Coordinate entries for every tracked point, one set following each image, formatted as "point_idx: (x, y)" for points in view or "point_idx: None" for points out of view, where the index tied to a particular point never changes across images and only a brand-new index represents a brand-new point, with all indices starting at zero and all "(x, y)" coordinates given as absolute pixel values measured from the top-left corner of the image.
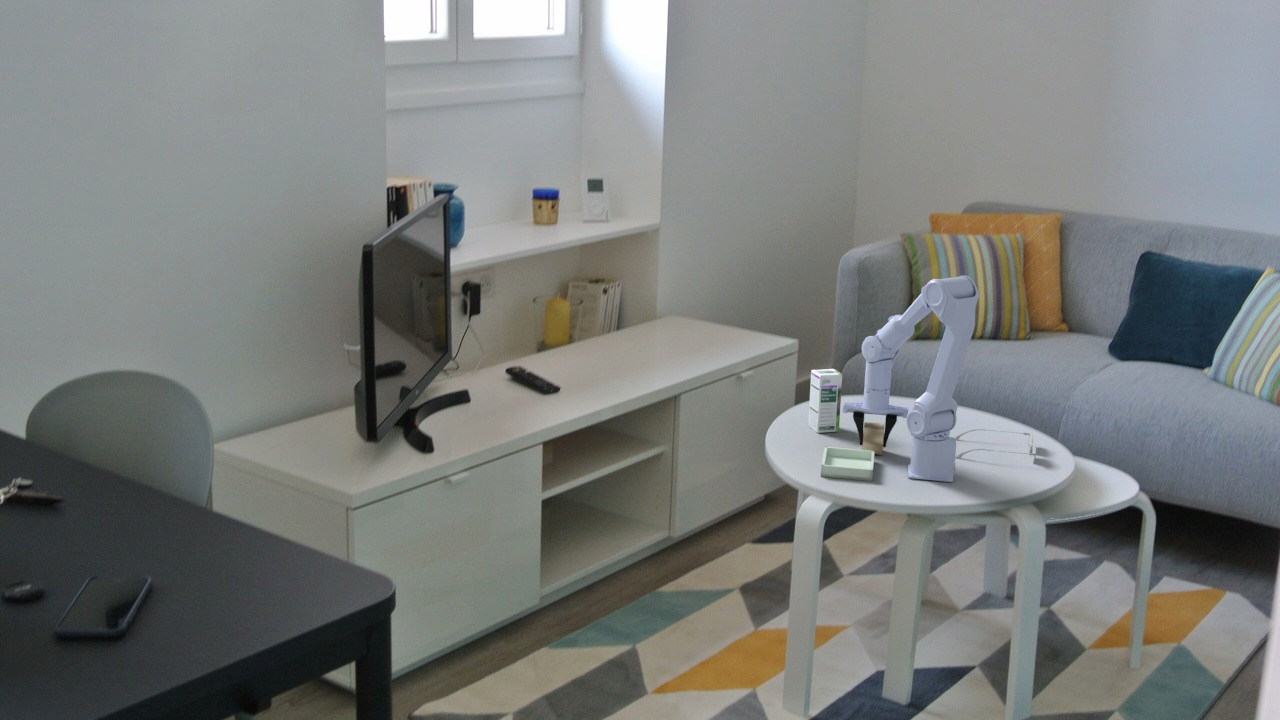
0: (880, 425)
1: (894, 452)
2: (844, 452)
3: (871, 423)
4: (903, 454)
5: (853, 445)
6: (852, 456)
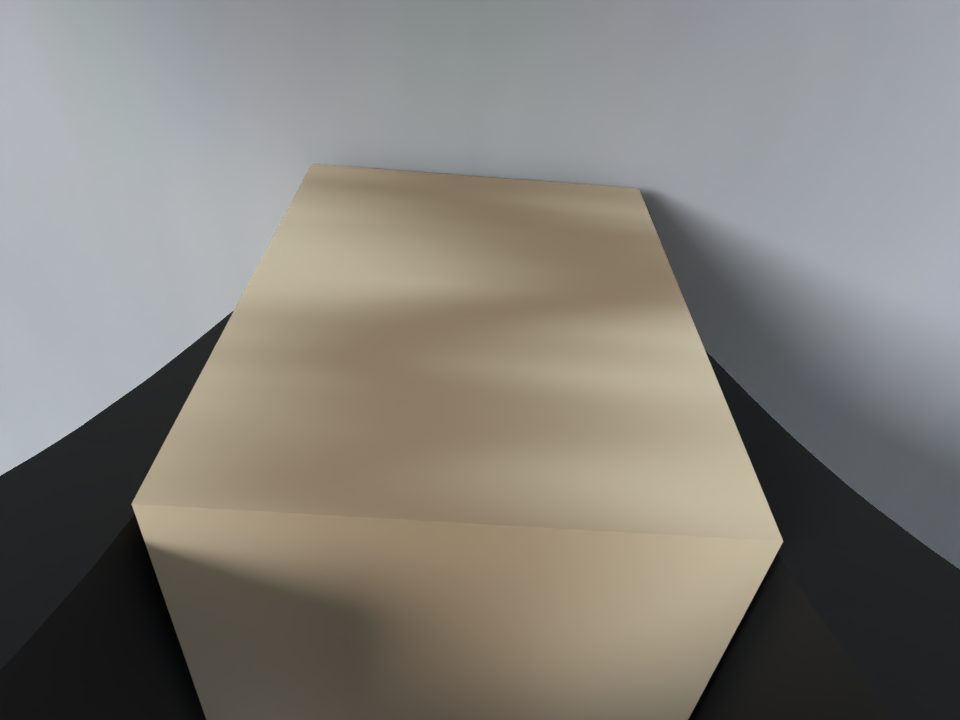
0: (614, 659)
1: (798, 249)
2: None
3: (367, 588)
4: (902, 305)
5: (138, 25)
6: None
